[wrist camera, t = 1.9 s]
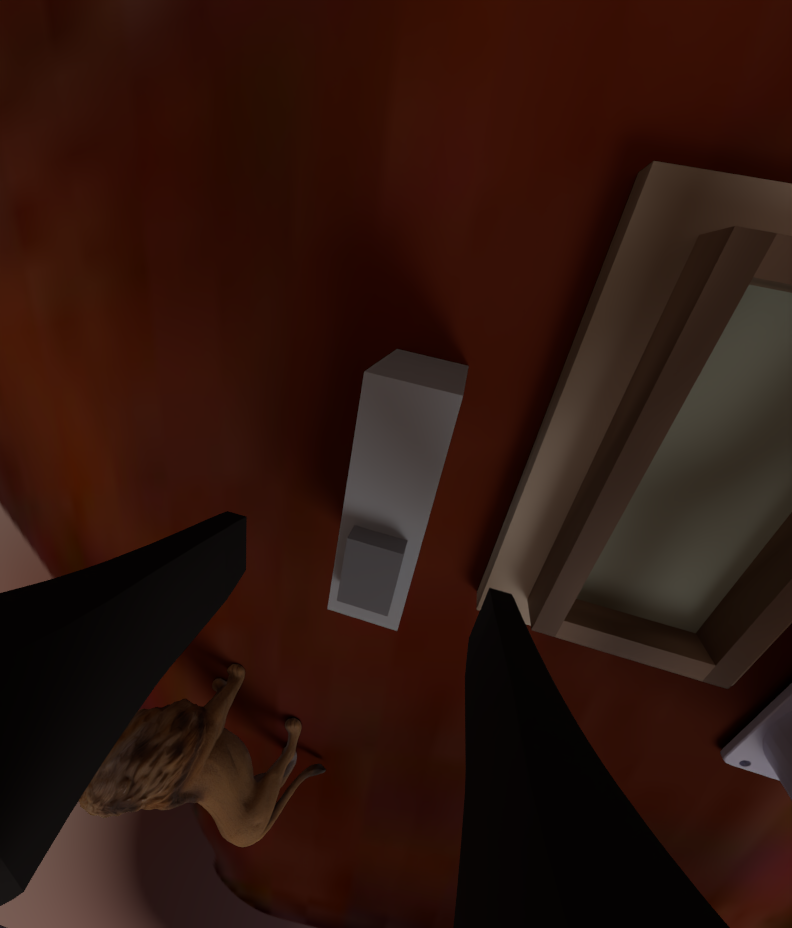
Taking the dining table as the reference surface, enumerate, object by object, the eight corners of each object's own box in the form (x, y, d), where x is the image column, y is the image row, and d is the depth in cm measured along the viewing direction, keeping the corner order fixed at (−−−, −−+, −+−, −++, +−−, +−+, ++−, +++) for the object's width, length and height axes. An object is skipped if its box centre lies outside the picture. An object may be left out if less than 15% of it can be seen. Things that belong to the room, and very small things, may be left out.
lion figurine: (166, 656, 28) (42, 800, 20) (200, 628, 26) (75, 778, 18) (308, 768, 31) (247, 937, 23) (351, 752, 29) (299, 932, 21)
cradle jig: (1081, 248, 11) (1286, 233, 8) (717, 663, 19) (757, 725, 16) (638, 172, 12) (683, 137, 9) (476, 592, 20) (476, 639, 17)
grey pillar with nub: (468, 365, 15) (461, 403, 10) (416, 554, 20) (392, 647, 15) (397, 348, 16) (356, 376, 11) (361, 538, 20) (320, 624, 15)
